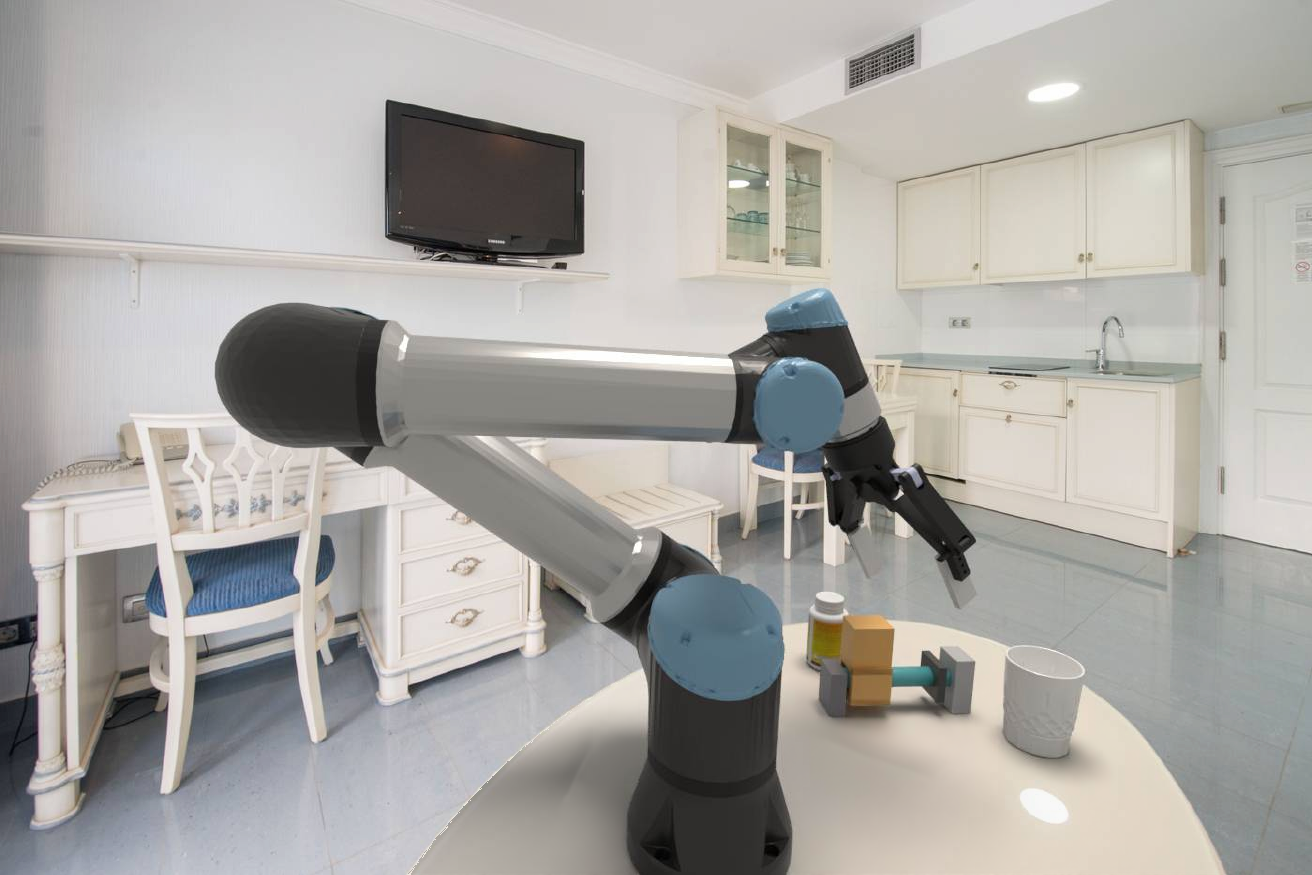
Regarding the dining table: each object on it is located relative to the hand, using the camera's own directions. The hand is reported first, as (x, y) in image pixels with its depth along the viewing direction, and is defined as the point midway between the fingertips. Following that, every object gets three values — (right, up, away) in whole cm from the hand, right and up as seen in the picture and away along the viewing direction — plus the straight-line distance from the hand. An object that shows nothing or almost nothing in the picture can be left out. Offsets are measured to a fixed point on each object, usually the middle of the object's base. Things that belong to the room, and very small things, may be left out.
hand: (917, 586), depth 75 cm
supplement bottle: (-6, -16, +17) cm, 24 cm away
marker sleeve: (-4, -15, +6) cm, 17 cm away
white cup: (+14, -18, 0) cm, 23 cm away
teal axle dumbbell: (0, -17, +7) cm, 18 cm away
